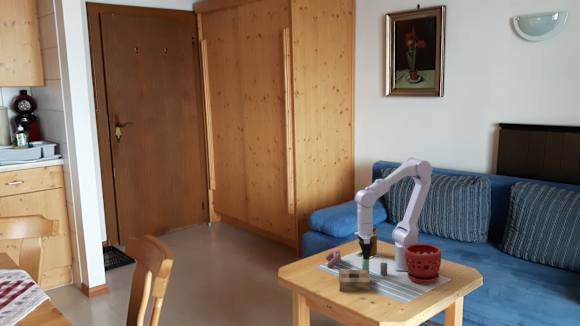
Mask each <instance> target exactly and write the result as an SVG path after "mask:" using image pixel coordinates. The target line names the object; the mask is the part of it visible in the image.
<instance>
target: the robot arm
mask: <svg viewBox="0 0 580 326" xmlns="http://www.w3.org/2000/svg"><path fill="white" fill-rule="evenodd" d="M433 170H434V169H433V167H432V165H431V163H430V162H429V161H427V160H422V159H418V158H415V157H409V158H407V159H406V160H404V161H403V162H402V163H401V165H400V166H398V167H397V168H396V169H395V170H393V172H391V173H390V174H388V175H387V177H385V178H378V179H377V178H376V179H375V180H374V181H373V183H371V184H370V185H368V186H366V187H365V188H364V189H361V190H358V191H357V192H356V194H355V197H353V198H354V202H355V203H356V205H357V231H355V232H354V235H355V236H357V238H358V240H359V241H358V245H359V247H360V249H361V252H362V255H363V259H369V257H370V252H371V249H372V247H373V245H374V242H370V238H371V237H372V236H373V226H374V222H373V221H374V219H373V217H374V216H373V213H374V211H373V209H374V207H373V206H375V204H376V202H377V200H378V199H380V198H381V197H382V196H383V195H385V194H387V193H388V192H389V191H390V187H391V186H393V185H394V184H396V183H397V182H399V181H401V180H402V179H404V178H406V177H411V178H412V180H413V181H414V183H415V184H414V187H413V190H412V193H411V196H410V198H409V201H408V205H407V208H406V210H405V212H404V216H403V219H402V221H399V222H397V224H396V227H395V228H394V229H393V231H392V233H391V237H392V240H393V241H394V245H395V247H394V248H395V250H394V252H395V253H394V255H395V256H394V260H395V261H394V262H392V265H393V267H394V269H395V271H396V272H403V271H404V272H409V271H408V268H407V265H406V261H405V248H406V247H407V246H410V245H415V244H418V238H419V237H418V236H419V233H420V232H419V228H418V227H417V224H418V222H419V218H420V216H421V212H422V210H423V207H424V204H425V201H426V198H427V197H428V193H429V191H430V188H431V184H432V173H433ZM412 253H413V252H412ZM417 254H420V252H419V251H418V252H417ZM369 260H370V259H369ZM409 261H410V259H409Z"/></svg>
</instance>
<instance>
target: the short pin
mask: <svg viewBox="0 0 580 326" xmlns="http://www.w3.org/2000/svg"><path fill="white" fill-rule="evenodd" d="M379 268H380V270H379V271H380V274H381V275H382V277H387V276H388V263H387V262H380V267H379ZM381 275H380V276H381Z"/></svg>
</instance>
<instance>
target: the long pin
mask: <svg viewBox="0 0 580 326" xmlns="http://www.w3.org/2000/svg"><path fill="white" fill-rule="evenodd" d="M361 267H362V268H361V270H368V273H369V274H370V259H363V255H362V257H361Z"/></svg>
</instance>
